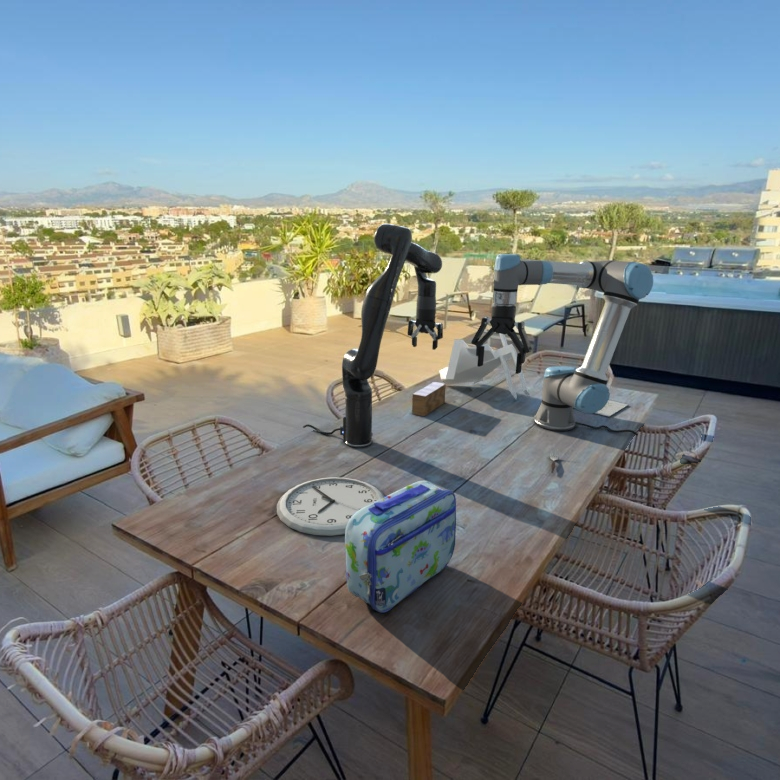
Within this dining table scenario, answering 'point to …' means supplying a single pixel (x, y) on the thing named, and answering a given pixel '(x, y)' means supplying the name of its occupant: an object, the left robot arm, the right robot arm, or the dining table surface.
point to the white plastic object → (468, 371)
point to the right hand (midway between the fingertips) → (498, 369)
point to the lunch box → (399, 543)
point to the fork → (554, 460)
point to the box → (428, 398)
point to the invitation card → (611, 408)
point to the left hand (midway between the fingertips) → (424, 348)
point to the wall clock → (325, 504)
